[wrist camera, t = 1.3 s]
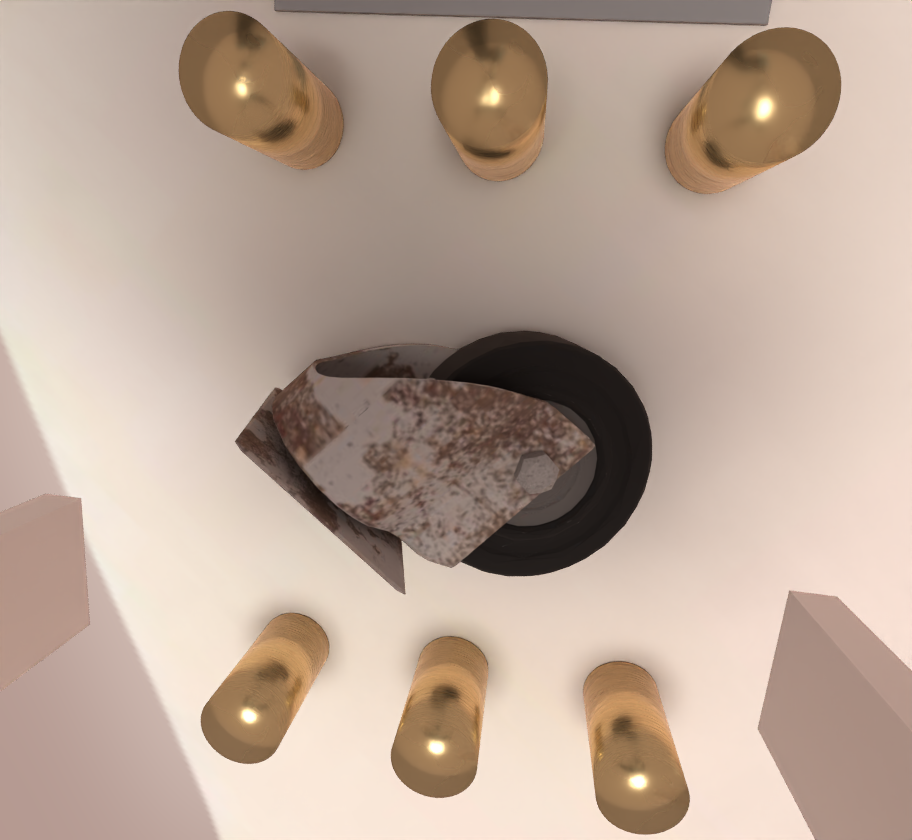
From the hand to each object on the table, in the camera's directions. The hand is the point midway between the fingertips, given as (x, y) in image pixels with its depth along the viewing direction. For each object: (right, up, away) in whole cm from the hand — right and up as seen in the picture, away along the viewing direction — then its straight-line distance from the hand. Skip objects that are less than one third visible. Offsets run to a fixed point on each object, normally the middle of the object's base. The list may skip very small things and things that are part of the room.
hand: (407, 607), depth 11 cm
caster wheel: (+2, +4, +12) cm, 12 cm away
